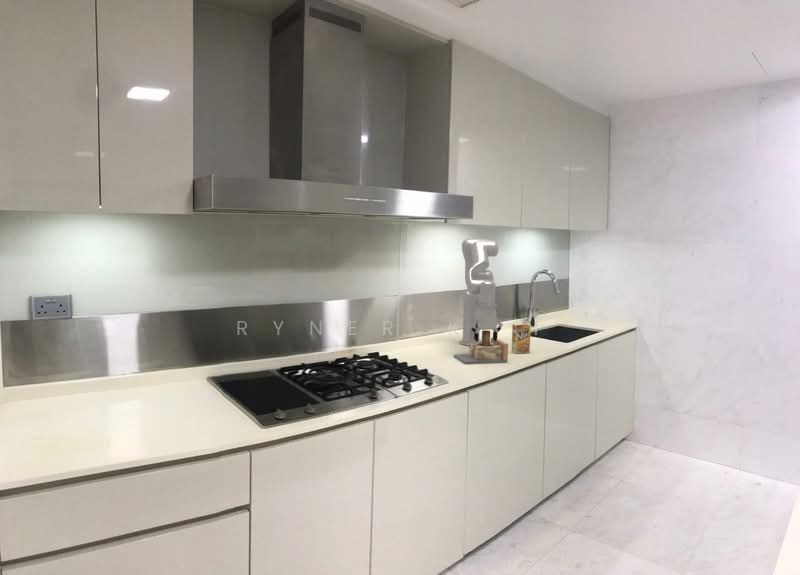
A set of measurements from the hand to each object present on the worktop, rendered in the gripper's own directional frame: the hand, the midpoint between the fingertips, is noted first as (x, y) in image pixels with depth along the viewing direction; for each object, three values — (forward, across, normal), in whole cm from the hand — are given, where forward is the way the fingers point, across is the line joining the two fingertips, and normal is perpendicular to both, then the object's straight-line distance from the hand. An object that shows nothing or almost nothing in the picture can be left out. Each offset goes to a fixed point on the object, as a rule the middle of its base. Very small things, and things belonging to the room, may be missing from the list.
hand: (485, 340), depth 250 cm
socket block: (+8, 0, 0) cm, 8 cm away
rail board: (+9, +3, 0) cm, 10 cm away
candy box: (+10, -25, -12) cm, 30 cm away
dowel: (+7, 0, 0) cm, 7 cm away
